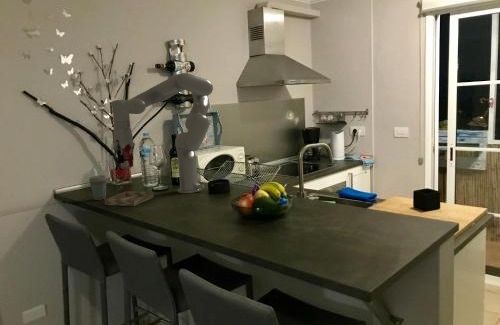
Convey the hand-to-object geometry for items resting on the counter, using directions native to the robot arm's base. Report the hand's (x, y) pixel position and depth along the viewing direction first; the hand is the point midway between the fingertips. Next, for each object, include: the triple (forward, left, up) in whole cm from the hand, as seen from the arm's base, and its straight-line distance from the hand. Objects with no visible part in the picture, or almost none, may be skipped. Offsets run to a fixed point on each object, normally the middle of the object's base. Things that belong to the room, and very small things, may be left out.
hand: (126, 161), depth 205 cm
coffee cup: (+19, -2, -20) cm, 28 cm away
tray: (0, 0, -20) cm, 20 cm away
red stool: (0, 0, -4) cm, 4 cm away
